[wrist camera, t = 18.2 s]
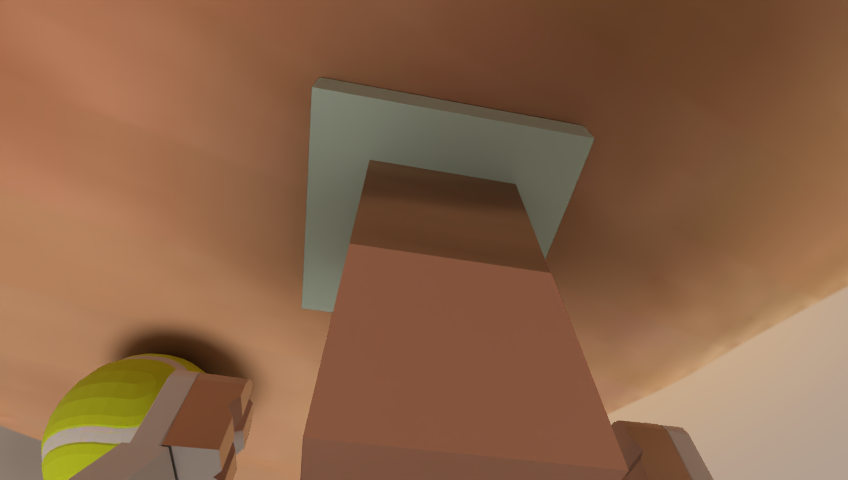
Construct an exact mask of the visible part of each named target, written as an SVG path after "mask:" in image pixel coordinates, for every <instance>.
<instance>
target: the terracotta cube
mask: <svg viewBox="0 0 848 480" xmlns="http://www.w3.org/2000/svg"><path fill="white" fill-rule="evenodd" d="M628 471H629V470H628V467H627V465H626V462H625V460H624V457H623V454H622V452H621V449H620V447H619V444H618V442H617V439H616V437H615V434H614V431H613V429H612V426H611V424H610V421H609V419H608V416H607V414H606V411H605V409H604V406H603V403H602V401H601V398H600V396H599V393H598V391H597V388H596V386H595V383H594V380H593V378H592V375H591V373H590V370H589V368H588V365H587V363H586V360H585V357H584V355H583V352H582V350H581V347H580V345H579V342H578V340H577V337H576V334H575V332H574V329H573V327H572V324H571V322H570V319H569V317H568V314H567V312H566V309H565V306H564V304H563V301H562V299H561V296H560V294H559V291H558V289H557V286H556V283H555V281H554V278H553V276H552V273H547V272H540V271H534V270H527V269H520V268H513V267H506V266H500V265H493V264H486V263H479V262H472V261H466V260H459V259H452V258H445V257H438V256H432V255H425V254H418V253H411V252H405V251H398V250H391V249H384V248H377V247H371V246H364V245H357V244H350V243H349V247H348V252H347V256H346V260H345V264H344V268H343V272H342V277H341V281H340V285H339V289H338V293H337V297H336V302H335V306H334V310H333V314H332V318H331V322H330V327H329V331H328V335H327V339H326V343H325V347H324V352H323V356H322V360H321V364H320V368H319V372H318V377H317V381H316V385H315V389H314V393H313V397H312V402H311V406H310V410H309V414H308V418H307V422H306V427H305V431H304V435H303V445H302V461H301V478H300V480H622V479H623V477H624V476H625V475H626V474H627V472H628Z"/></svg>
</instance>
